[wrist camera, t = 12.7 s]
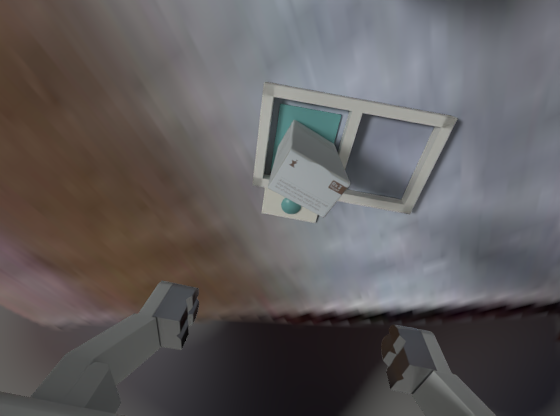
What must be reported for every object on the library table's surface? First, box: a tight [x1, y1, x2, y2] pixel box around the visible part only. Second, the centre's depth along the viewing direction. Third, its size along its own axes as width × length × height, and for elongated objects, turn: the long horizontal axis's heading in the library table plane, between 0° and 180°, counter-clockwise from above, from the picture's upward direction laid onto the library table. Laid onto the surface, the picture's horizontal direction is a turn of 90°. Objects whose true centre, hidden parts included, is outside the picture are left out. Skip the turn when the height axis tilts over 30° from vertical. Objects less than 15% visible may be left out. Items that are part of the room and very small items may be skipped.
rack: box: [253, 82, 458, 223], centre depth 33 cm, size 21×17×2 cm
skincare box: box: [268, 120, 351, 218], centre depth 27 cm, size 6×4×12 cm
